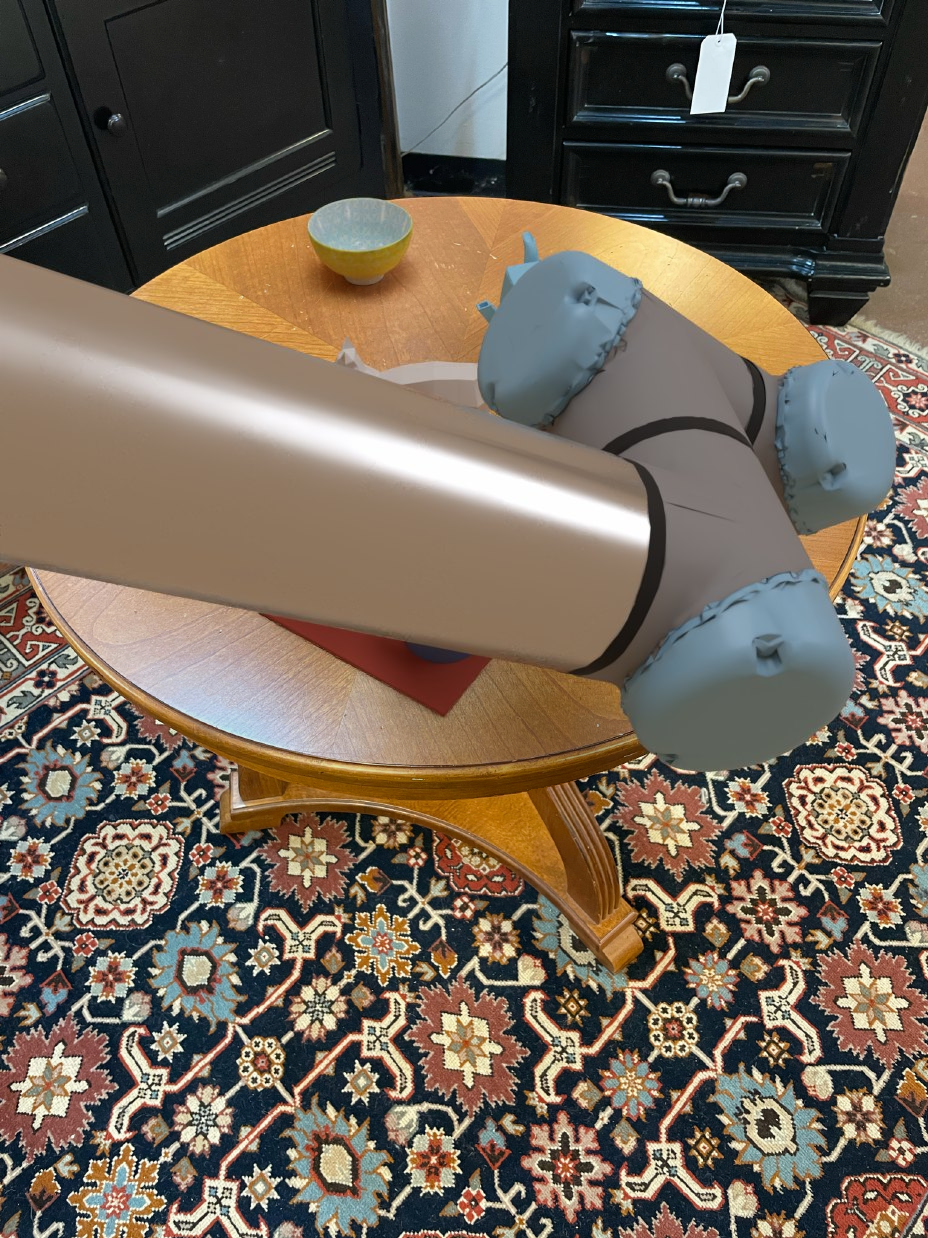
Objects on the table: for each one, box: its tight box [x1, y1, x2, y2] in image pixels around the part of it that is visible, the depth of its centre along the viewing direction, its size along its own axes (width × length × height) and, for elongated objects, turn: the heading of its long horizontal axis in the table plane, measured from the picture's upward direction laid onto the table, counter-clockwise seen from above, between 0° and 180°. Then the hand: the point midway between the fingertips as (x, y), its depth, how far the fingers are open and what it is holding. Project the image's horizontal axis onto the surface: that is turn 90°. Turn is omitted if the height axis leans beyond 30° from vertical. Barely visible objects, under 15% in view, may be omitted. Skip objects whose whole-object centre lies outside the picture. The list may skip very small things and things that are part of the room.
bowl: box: [306, 197, 414, 286], centre depth 106 cm, size 11×12×6 cm
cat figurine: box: [332, 335, 492, 414], centre depth 83 cm, size 4×20×14 cm, turn 91°
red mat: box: [259, 613, 493, 718], centre depth 76 cm, size 18×13×1 cm
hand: (405, 584), depth 73 cm, fingers closed on blue tumbler, 7 cm apart
